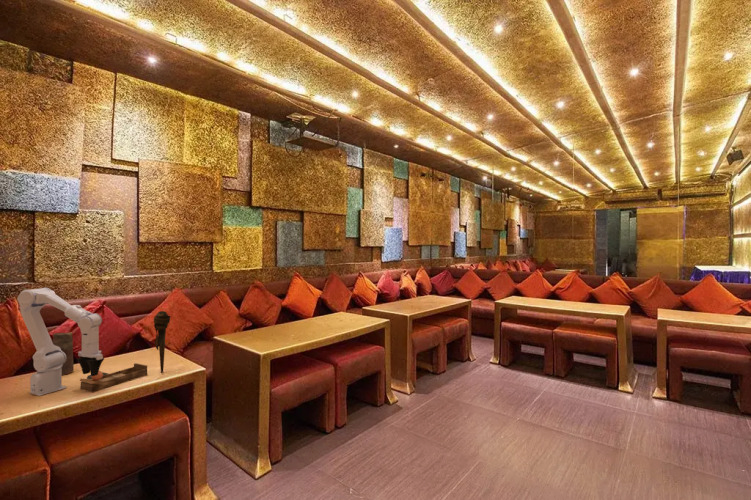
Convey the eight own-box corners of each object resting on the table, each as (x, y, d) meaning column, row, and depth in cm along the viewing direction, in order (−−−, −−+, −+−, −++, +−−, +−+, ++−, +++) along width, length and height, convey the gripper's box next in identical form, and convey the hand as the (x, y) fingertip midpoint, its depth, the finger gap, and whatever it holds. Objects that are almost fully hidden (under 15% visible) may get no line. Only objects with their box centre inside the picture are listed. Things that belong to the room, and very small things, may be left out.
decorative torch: (163, 369, 178) (162, 309, 179) (173, 371, 176) (173, 310, 176) (150, 374, 172) (150, 311, 172) (160, 375, 170) (160, 312, 170)
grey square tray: (94, 383, 160) (94, 377, 160) (86, 381, 162) (86, 375, 163) (109, 379, 165) (109, 373, 165) (101, 377, 168) (101, 371, 168)
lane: (91, 392, 150) (91, 381, 150) (79, 389, 154) (79, 378, 154) (147, 374, 171) (147, 365, 171) (135, 372, 175) (135, 363, 175)
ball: (95, 383, 153) (105, 378, 157) (92, 374, 153) (103, 369, 156) (91, 381, 155) (101, 376, 159) (88, 373, 155) (99, 368, 158)
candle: (49, 375, 172) (49, 333, 172) (67, 370, 179) (66, 330, 179) (60, 376, 170) (59, 334, 170) (77, 371, 177) (77, 331, 177)
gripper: (110, 342, 154) (110, 373, 154) (91, 339, 160) (91, 369, 160) (91, 346, 148) (92, 379, 148) (72, 342, 154) (72, 374, 154)
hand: (90, 374), depth 153 cm, fingers open, 5 cm apart
